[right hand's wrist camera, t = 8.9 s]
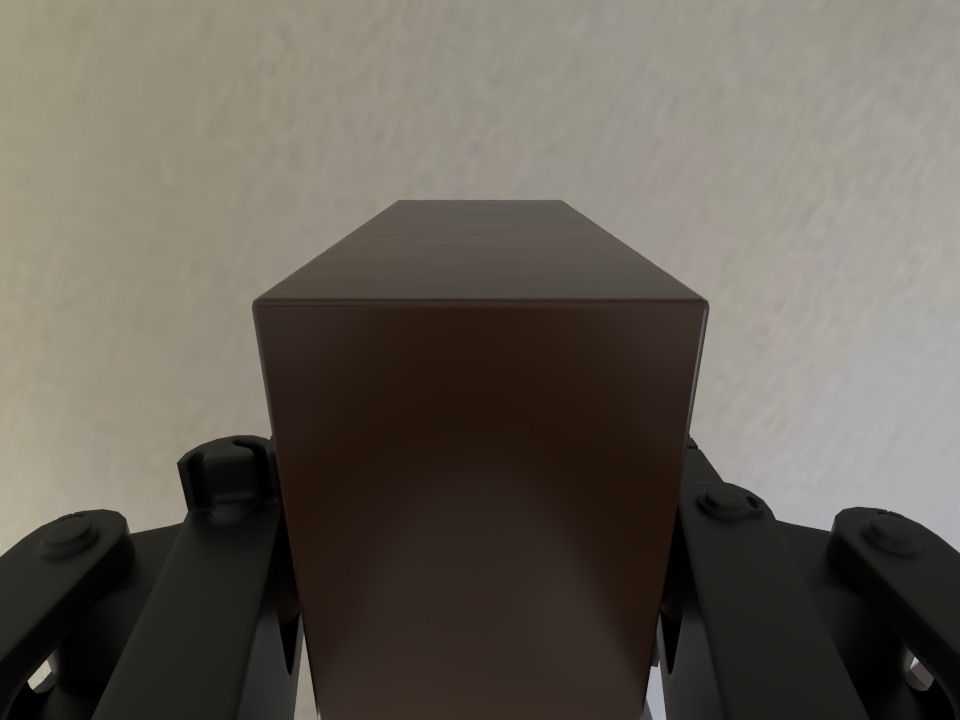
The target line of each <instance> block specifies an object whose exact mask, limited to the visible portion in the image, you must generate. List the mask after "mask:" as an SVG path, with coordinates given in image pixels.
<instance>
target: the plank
mask: <svg viewBox="0 0 960 720" xmlns="http://www.w3.org/2000/svg"><path fill="white" fill-rule="evenodd" d="M252 311H253V317H254V323H255V330H256V336H257V342H258V348H259V355H260V361H261V367H262V373H263V379H264V386H265V392H266V398H267V404H268V411H269V417H270V423H271V429H272V436H273V442H274V448H275V454H276V460H277V467H278V473H279V479H280V485H281V492H282V498H283V504H284V510H285V517H286V523H287V529H288V535H289V541H290V548H291V554H292V560H293V566H294V573H295V579H296V585H297V591H298V598H299V604H300V610H301V616H302V623H303V629H304V635H305V641H306V647H307V654H308V660H309V666H310V672H311V679H312V685H313V691H314V697H315V704H316V710H317V716H318V720H642V718H643V712H644V706H645V700H646V693H647V687H648V681H649V675H650V669H651V663H652V657H653V651H654V644H655V638H656V632H657V626H658V620H659V614H660V608H661V602H662V595H663V589H664V583H665V577H666V571H667V565H668V559H669V552H670V546H671V540H672V534H673V528H674V522H675V516H676V510H677V503H678V497H679V491H680V485H681V479H682V473H683V467H684V461H685V454H686V448H687V442H688V436H689V430H690V424H691V418H692V412H693V405H694V399H695V393H696V387H697V381H698V375H699V369H700V362H701V356H702V350H703V344H704V338H705V332H706V326H707V320H708V313H709V304H708V301H707V300H706V299H704V298H703V297H702V296H700V295H699V294H697V293H696V292H694V291H693V290H691V289H690V288H688V287H687V286H686V285H684V284H683V283H681V282H680V281H678V280H677V279H675V278H674V277H672V276H671V275H670V274H668V273H667V272H665V271H664V270H662V269H661V268H659V267H658V266H656V265H655V264H654V263H652V262H651V261H649V260H648V259H646V258H645V257H643V256H642V255H640V254H639V253H638V252H636V251H635V250H633V249H632V248H630V247H629V246H627V245H626V244H624V243H623V242H622V241H620V240H619V239H617V238H616V237H614V236H613V235H611V234H610V233H609V232H607V231H606V230H604V229H603V228H601V227H600V226H598V225H597V224H595V223H594V222H593V221H591V220H590V219H588V218H587V217H585V216H584V215H582V214H581V213H579V212H578V211H577V210H575V209H574V208H572V207H571V206H569V205H568V204H566V203H565V202H563V201H561V200H399V201H397V202H395V203H394V204H392V205H391V206H390V207H388V208H387V209H385V210H384V211H382V212H381V213H379V214H378V215H377V216H375V217H374V218H372V219H371V220H369V221H368V222H366V223H365V224H364V225H362V226H361V227H359V228H358V229H356V230H355V231H353V232H352V233H351V234H349V235H348V236H346V237H345V238H343V239H342V240H340V241H339V242H337V243H336V244H335V245H333V246H332V247H330V248H329V249H327V250H326V251H324V252H323V253H322V254H320V255H319V256H317V257H316V258H314V259H313V260H311V261H310V262H309V263H307V264H306V265H304V266H303V267H301V268H300V269H298V270H297V271H296V272H294V273H293V274H291V275H290V276H288V277H287V278H285V279H284V280H282V281H281V282H280V283H278V284H277V285H275V286H274V287H272V288H271V289H269V290H268V291H267V292H265V293H264V294H262V295H261V296H259V297H258V298H256V299H255V300H254V301H253V305H252Z"/></svg>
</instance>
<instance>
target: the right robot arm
mask: <svg viewBox="0 0 960 720" xmlns="http://www.w3.org/2000/svg"><path fill="white" fill-rule="evenodd" d="M177 466H178V470H179V474H180V478H181V483H182V487H183V491H184V495H185V499H186V504H187V508H188V513H187V516H186V518H185V520H184V522H183V523H180V524H176V525H172V526H168V527H163V528H158V529H153V530H148V531H143V532H138V533H132V534H130V531H129V528H128V524H127V521H126V518H125V517H124V516H122V515H121V514H120V513H119V512H116V511H111V510H105V509H100V510H89V511H81V512H76V513H74V514H68V515H65V516H62V517H60V518H58V519H57V520H54V521H52V522H50V523H48V524H45V525H43V526H41V527H40V528H38V529H36V530H35V531H33V532H32V533H30V534H29V535H27V536H26V537H24V538H23V539H22V540H21V541H19V542H18V543H17V544H16V545H14V546H13V547H12V548H11V549H10V550H8V551H7V552H6V553H5V554H3V555H2V556H1V557H0V720H294V712H295V703H296V695H297V686H298V677H299V669H300V660H301V651H302V643H303V634H304V629H303V623H302V616H301V610H300V604H299V598H298V591H297V585H296V579H295V573H294V566H293V560H292V554H291V548H290V541H289V535H288V529H287V523H286V517H285V510H284V504H283V498H282V492H281V485H280V479H279V473H278V467H277V460H276V454H275V448H274V442H273V436H271V440H268V439H266V438H262V437H258V436H253V435H236V436H231V437H225V438H220V439H216V440H213V441H210V442H207V443H205V444H202V445H200V446H198V447H196V448H194V449H193V450H191V451H189V452H187V453H186V454H185V455H184V456H183V457H182V458H181V459H180V460H179V461H178V462H177ZM914 657H916V658H917V659H918V660H919V662H920V663H921V664H922V665H923V666H924V667H925V668H926V669H927V671H928V672H929V673H930V674H931V675H932V676H933V677H934V680H933V683H932V685H931V686H930V687H929V688H928V687H926V686H925V685H924V684H923V683H922V682H921V681H920V680H919V679H918V678H917V677H916V676H915V675H914V673H913V672H912V671H911V670H910V667H911V664H912V662H913V659H914ZM46 659H47V661H48V663H49V666H50V668H51V672H50V674H49V675H48V676H47V677H46V678H45V679H44V681H43V682H42V683H40V684H39V685H38V686H37V687H36V688H34V689H33V690H32V689H31V688H30V686H29V684H28V680H29V679H30V677H31V676H32V675H33V674H34V673H35V672H36V671H37V670H38V668H39V667H40V666H41V665H42V664H43V663H44V662H45V660H46ZM659 659H660V668H661V676H662V685H663V694H664V702H665V711H666V719H667V720H960V553H959V552H958V551H956V550H955V549H954V548H953V547H951V546H950V545H949V544H948V543H947V542H945V541H944V540H943V539H942V538H940V537H939V536H938V535H936V534H935V533H933V532H932V531H930V530H929V529H927V528H926V527H924V526H923V525H921V524H919V523H917V522H915V521H913V520H910V519H908V518H906V517H904V516H903V515H900V514H898V513H894V512H891V511H889V512H888V511H887V510H883V509H878V508H866V507H854V508H848V509H843V510H842V511H841V512H840V513H838V514H837V515H836V516H835V519H834V522H833V526H832V529H831V532H830V531H825V530H820V529H815V528H810V527H805V526H800V525H795V524H790V523H786V522H782V521H778V520H776V519H775V517H774V515H773V513H772V511H771V509H770V508H769V507H768V506H767V504H766V503H765V502H764V500H762V499H761V498H759V497H758V496H756V495H755V494H753V493H752V492H751V491H749V490H746V489H744V488H741V487H739V486H736V485H734V484H731V483H726V482H723V480H722V479H721V478H720V476H719V475H718V473H717V472H716V471H715V469H714V468H713V466H712V465H711V464H710V462H709V461H708V460H707V458H706V457H705V455H704V454H703V453H702V451H701V450H700V449H698V446H697V444H696V443H695V442H694V440H693V439H692V438H690V435H689V436H688V442H687V448H686V454H685V461H684V467H683V473H682V479H681V485H680V491H679V497H678V503H677V510H676V516H675V522H674V528H673V534H672V540H671V546H670V552H669V559H668V565H667V571H666V577H665V583H664V589H663V595H662V602H661V608H660V614H659V620H658V626H657V632H656V638H655V644H654V651H653V657H652V663H651V666H654V667H658V663H659Z"/></svg>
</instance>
